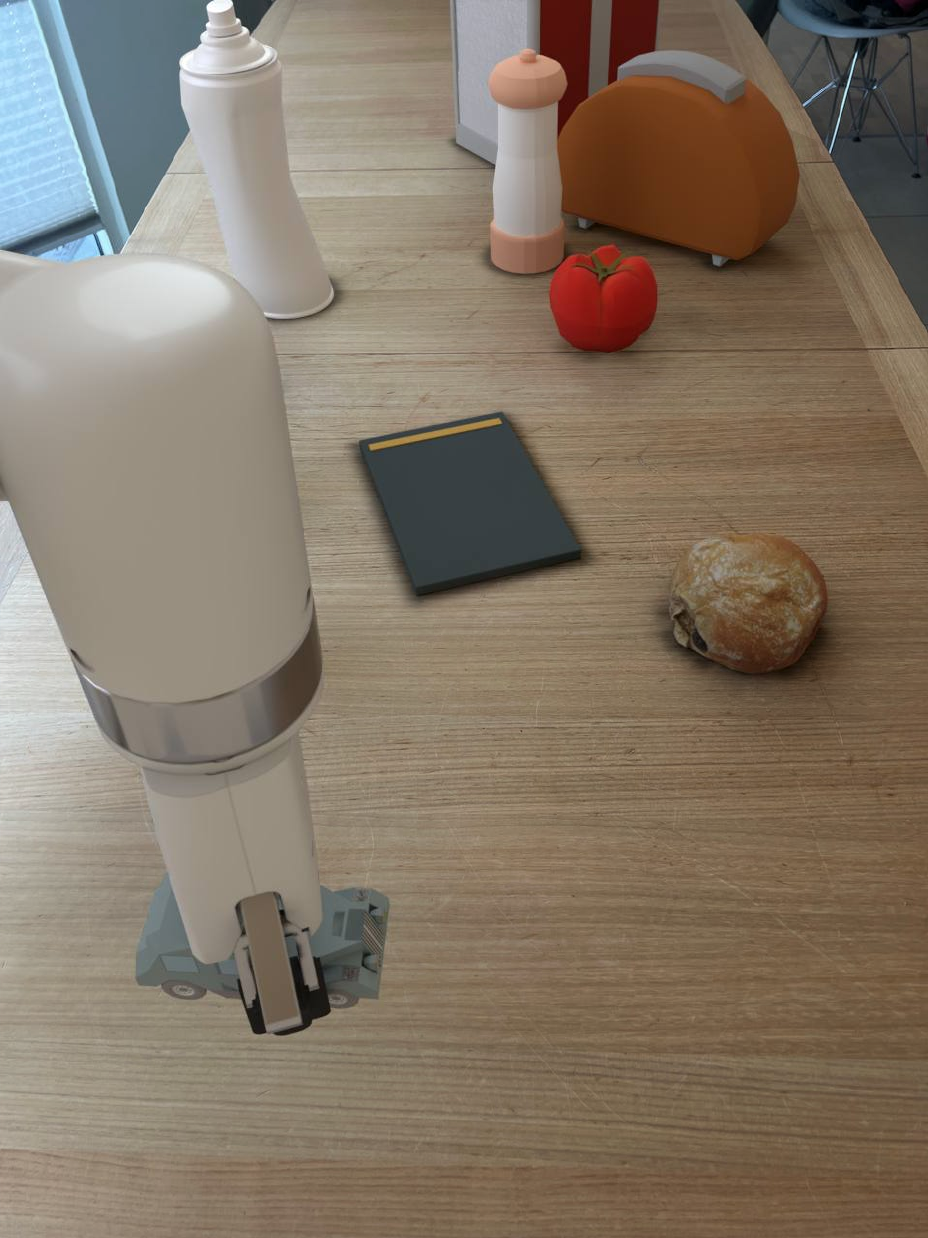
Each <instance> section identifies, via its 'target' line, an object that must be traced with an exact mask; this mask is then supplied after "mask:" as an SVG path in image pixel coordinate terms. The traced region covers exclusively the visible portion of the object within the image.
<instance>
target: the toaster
mask: <svg viewBox="0 0 928 1238" xmlns="http://www.w3.org/2000/svg"><path fill="white" fill-rule="evenodd" d="M557 151H558V159H559V167H560V175H561V182H562V202H561V213H564V214H567V215H570V216H572V217H573V216H574V217H577V219H578V226H579V228H581V229H585V230H587V229H588V228H589V227H591V226H592V225H594V224H595V223H598V224H601V225H605V226H609V227H612V228H616V229H620V230H623V231H627V232H630V233H634V234H637V235H641V236H645V237H649V238H652V239H655V240H658V241H659V240H660V241H663V242H667V243H670V244H674V245H678V246H681V247H684V248H688V249H692V250H695V251H700V252H702V253H707V254H710V255H711V257H712V264H713V266H716V267H722V266H723V265H724V264H725V263H726V262H728V260H734V261H740V260H742V259H744V258H745V257H748V256H750V255H751V254H753V253H755V252H756V251H758V250H759V249H760V248H761V247H762V246H763V245H764V244H765V243H767V242H768V241H769V240H770V239H771V238H772V237H774V235H776V234H777V233H778V232H779V231H780V230H782V228H784V227H785V226H786V225H787V224H788V223H789V221H790V219H791V216H792V214H793V211H794V208H795V207H796V204H797V197H798V191H799V183H800V175H801V173H800V169H799V165H798V160H797V156H796V151H795V146H794V142H793V139H792V137H791V134H790V132H789V130H788V128H787V126H786V123H785V120H784V118H783V116H782V113H781V112H780V110H778V108H776V106H775V105H774V104H773V103H772V101H771V100H770V99H769V98H768V96H766V94H765V93H764V92H763V91H762V90H761V89H760V88H759V87H757V86H756V85H755V84H754V83H753V82H752V81H750V80H749V79H748V78H747V77H746V76H745V75H744V74H742V72H740V71H738V70H736V69H734V68H732V67H731V66H729V65H728V64H727V63H724V62H722V61H719V60H717V59H715V58H713V57H711V56H708V55H706V54H705V55H704V54H701V53H698V52H694V51H689V50H677V49H671V50H668V49H667V50H658V51H655V52H651V53H647V54H642V55H638V56H636V57H635V58H633V59H631V60H630V61H628V62H626V63H624V64H623V65H621V66H619V67H618V78H617V81H615V82H613V83H612V84H610V85H608V86H607V87H605V88H603V89H601V90H600V91H598V92H597V93H595V94H594V95H592V96H591V97H589V98H588V99H586V100H585V101H583V102H582V103H581V104H579V105H578V107H577V108H576V110H575V111H574V112H573V114H572V115H571V117H570V118H569V120H568V121H567V123H566V124H565V126H564V127H563V129H562V131H561V133H560V136H559V138H558V140H557Z"/></svg>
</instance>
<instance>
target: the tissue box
mask: <svg viewBox="0 0 928 1238" xmlns="http://www.w3.org/2000/svg"><path fill="white" fill-rule="evenodd" d="M662 8H663V0H449V9H450V10H449V12H450V32H451V34H450V35H451V54H452V55H451V57H452V59H451V60H452V73H453V74H452V78H453V79H452V81H453V102H454V122H455V123H454V124H455V125H454V126H455V143H456V144H457V145H458V146H460V147H462V148H464V149H466V150H468V151H469V152H471V153H473V154H475V155H477V156H478V157H480V158H482V159H484V160H486V161H488V162H489V163H491V164H493V165H494V166H496V160H497V152H498V103H497V102H496V101H495V100H494V99H493V98H492V96H491V93H490V90H489V85H488V83H489V79H490V75H491V73H492V72H493V70H494V68H495V67H496V65H497V64H498V63H500V62H502V61H504V60H506V59H508V58H510V57H513V56H516V55H519V54H520V52H521V51H522V50H524V49H532V50H534V51H535V52H536V54H537V55H542V56H545V57H548V58H550V59H553V60H555V61H557V62H558V63H559V64H560V65H561V67H562V68H563V70H564V72H565V75H566V80H567V87H566V90H565V92H564V94H563V96H562V98H561V100H559V101H558V118H557V140H558V138H559V136H560V133H561V131H562V129H563V127H564V126H565V124H566V123H567V121H568V120H569V118H570V117H571V115H572V114H573V112H574V111H575V110H576V108H577V107H578V105H579V104H581V103H582V102H583V101H585V100H586V99H588V98H589V97H591V96H592V95H594V94H595V93H597V92H598V91H600V90H601V89H603V88H605V87H607V86H608V85H610V84H612V83H613V82H615V81H617V78H618V67H619V66H621V65H623V64H624V63H626V62H628V61H630V60H631V59H633V58H635V57H636V56H638V55H642V54H647V53H651V52H655V51H659V47H660V46H659V45H660V32H661V21H662V10H663V9H662Z"/></svg>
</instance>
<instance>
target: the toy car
mask: <svg viewBox="0 0 928 1238" xmlns="http://www.w3.org/2000/svg"><path fill="white" fill-rule="evenodd" d="M320 892H321V902H322V913H323V920H322V922H321V924H320V926H319V928H318V929H317V931H316V932H315V933H314V935H313V936H310V931H307V932H308V937H309V942H310V946H311V951H312V955H313V956H315V957H316V958H317V957H320V961H321V966H322V970H323V975H324V980H325V984H326V989H327V994H328V998H329V1003H330V1008H331V1009H336V1010H337V1009H338V1010H339V1009H341V1010H342V1009H343V1010H345V1009H350V1008H353V1007H355V1006H356V1005H358V1004H359V1001H360V999H362V1000H363V999H364V1000H379V995H380V987H381V980H382V979H381V978H382V972H383V971H382V970H383V964H384V955H385V946H386V938H387V929H388V923H389V914H390V898H389V896H387V895H385V894H383V893H381V892H379V891H377V890H376V889H374V888H372V887H361V886H359V887H358V886H354V887H349V888H345V889H339V890H336V891H333V890H331V889H330V888H327V887H326V886H323V885H321V884H320ZM277 902H278V906H279V910H281V909H282V905H281V900H280V899H278V900H277ZM285 940H286V945H287V949H288V954H289V958H290V957H294V956H297V955H298V953H297V948H296V944H295V939H294V935H292V936H289V937H285ZM298 959H299V957H298ZM134 970H135V971H134V972H135V975H134V979H135V980H136V982H137V984H138V986H140V987H154V988H155V987H159V986H160V989H161V990H162V991H163V992H164V993H165V994H166V995H168V996H170V997H172V998H176V999H178V1000H185V1001H195V1000H200V999H203V998H204V997H205V996H206V995H207V992H208V991H209V992H211V993H213V994H216V995H217V996H220V997H223V998H225V999H231V1000H242V999H241V996H240V993H239V989H238V983H237V979H240V977H239V972H238V968H237V964H236V960H235V955H234V952H233V954H232V956H231V957H230V959H229V960H227V961H222V962H217V963H212V964H204V963H202V962H201V961H199V960H198V959H197V958H196V957H195V956H194V955H193V954H192V951H191V948H190V944H189V941H188V937H187V934H186V931H185V927H184V924H183V921H182V918H181V914H180V911H179V908H178V905H177V901H176V898H175V895H174V892H173V889H172V885H171V882H170V879H169V876H168V873H167V872H166V873H164V874H163V877H162V880H161V884H160V887H158V888H157V889H155V890H154V892H153V896H152V899H151V902H150V905H149V909H148V912H147V915H146V919H145V922H144V925H143V928H142V932H141V935H140V939H139V943H138V946H137V949H136V952H135V969H134Z"/></svg>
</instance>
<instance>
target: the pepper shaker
mask: <svg viewBox="0 0 928 1238" xmlns="http://www.w3.org/2000/svg"><path fill="white" fill-rule="evenodd" d="M488 85H489V90H490V93H491V96H492V98H493V99H494V100H495V101H496V102H497V103H498V152H497V160H496V165H495V167H494V176H493V182H492V196H493V197H492V199H493V200H492V201H493V218H492V220H491V222H490V259H491V262H492V263H493V265H495V267H497V268H498V269H500V270H503V271H505V272H509V273H513V274H523V275H526V274H527V275H528V274H529V275H530V274H537V273H543V272H548V271H549V270H552V269H555V268H556V267H558V265H559V266H560V265H561V264H562V263H563V262H562V261H563V259H564V253H565V223H564V222H565V221H564V219H563V217H561V216H562V211H561V202H562V182H561V175H560V167H559V159H558V151H557V118H558V101H559V100H561V98H562V96H563V94H564V92H565V90H566V87H567V80H566V75H565V72H564V70H563V68H562V67H561V65H560V64H559V63H558V62H557V61H555V60H553V59H550V58H548V57H545V56H542V55H537V54H536V52H535V51H534V50H532V49H524V50H522V51H521V52H520V54H519V55H516V56H513V57H510V58H508V59H506V60H504V61H502V62H500V63H498V64H497V65H496V67H495V68H494V70H493V72H492V73H491V75H490V79H489V83H488Z"/></svg>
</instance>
